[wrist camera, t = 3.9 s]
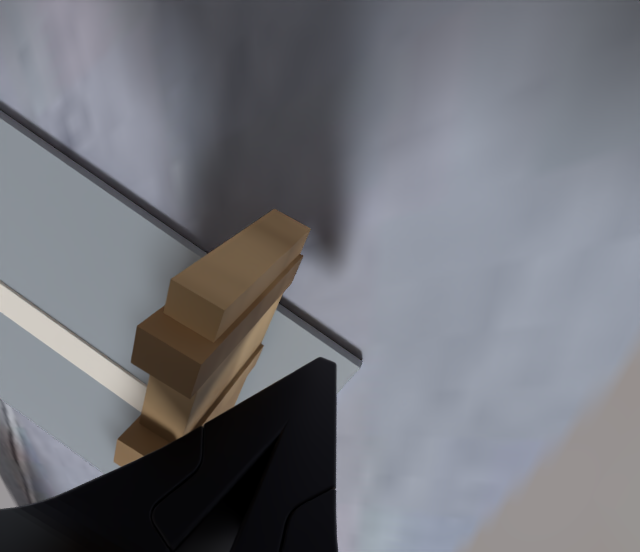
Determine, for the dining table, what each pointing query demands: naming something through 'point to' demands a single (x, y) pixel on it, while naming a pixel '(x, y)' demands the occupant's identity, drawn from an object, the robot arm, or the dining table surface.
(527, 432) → the dining table surface
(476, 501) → the dining table surface
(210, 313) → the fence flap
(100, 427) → the card
